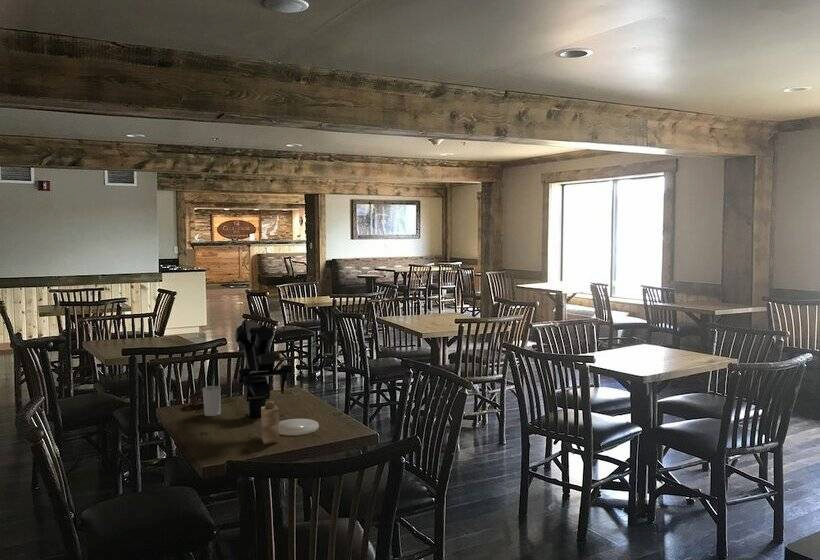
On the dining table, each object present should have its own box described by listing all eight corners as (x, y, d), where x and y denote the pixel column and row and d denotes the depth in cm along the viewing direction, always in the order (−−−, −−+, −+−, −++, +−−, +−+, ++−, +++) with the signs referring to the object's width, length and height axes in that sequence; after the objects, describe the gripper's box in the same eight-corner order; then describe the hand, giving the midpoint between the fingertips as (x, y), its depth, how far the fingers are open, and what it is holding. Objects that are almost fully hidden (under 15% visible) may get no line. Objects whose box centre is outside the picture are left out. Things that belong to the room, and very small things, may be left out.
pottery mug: (207, 411, 249) (195, 393, 248) (193, 418, 254) (181, 400, 253) (227, 396, 259) (216, 379, 259) (213, 403, 264) (202, 386, 263)
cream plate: (278, 438, 215) (278, 434, 215) (268, 425, 229) (268, 421, 229) (324, 431, 222) (324, 428, 222) (311, 419, 236) (311, 416, 236)
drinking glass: (223, 411, 247) (222, 385, 246) (219, 416, 240) (218, 390, 239) (206, 411, 247) (205, 386, 246) (201, 416, 240) (200, 390, 239)
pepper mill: (263, 443, 209) (263, 404, 208) (261, 439, 214) (260, 401, 213) (279, 441, 211) (278, 403, 210) (276, 437, 216) (276, 399, 215)
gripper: (237, 345, 219) (243, 385, 209) (292, 341, 226) (300, 379, 217) (234, 363, 226) (240, 402, 217) (287, 359, 234) (294, 396, 225)
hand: (269, 394), depth 219 cm, fingers open, 9 cm apart
